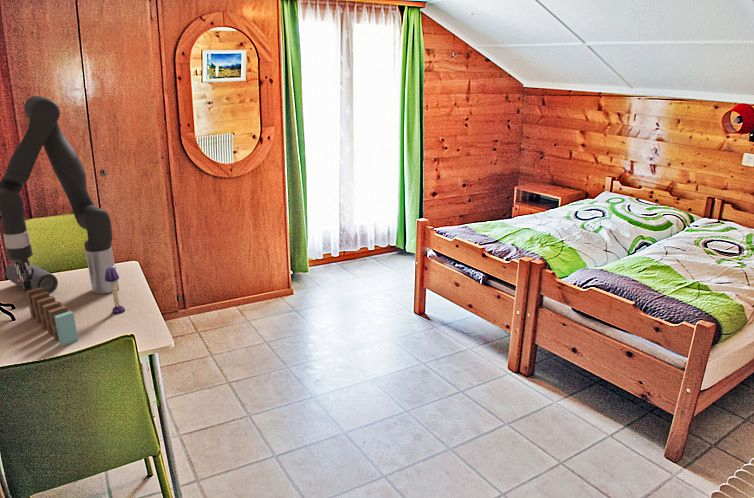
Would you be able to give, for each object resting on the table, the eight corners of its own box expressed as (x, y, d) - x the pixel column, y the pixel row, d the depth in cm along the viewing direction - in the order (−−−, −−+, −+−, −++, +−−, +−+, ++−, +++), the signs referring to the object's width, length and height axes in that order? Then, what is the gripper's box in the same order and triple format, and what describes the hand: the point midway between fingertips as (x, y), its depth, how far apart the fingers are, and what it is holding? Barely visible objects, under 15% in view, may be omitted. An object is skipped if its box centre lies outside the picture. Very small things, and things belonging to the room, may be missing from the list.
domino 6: (59, 344, 187) (54, 316, 184) (75, 338, 191) (70, 310, 188) (62, 346, 186) (56, 318, 183) (78, 340, 190) (73, 312, 186)
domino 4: (47, 332, 194) (42, 305, 191) (63, 327, 198) (58, 300, 195) (50, 334, 193) (44, 307, 190) (66, 329, 197) (60, 302, 193)
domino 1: (31, 317, 205) (26, 291, 201) (46, 312, 209) (41, 287, 205) (34, 319, 204) (28, 293, 200) (48, 314, 207) (43, 288, 204)
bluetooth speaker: (6, 287, 229) (1, 264, 225) (30, 280, 236) (25, 256, 233) (37, 301, 217) (31, 277, 213) (61, 293, 224) (56, 269, 221)
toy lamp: (117, 315, 207) (110, 271, 201) (107, 313, 208) (100, 269, 203) (127, 309, 211) (121, 267, 205) (117, 307, 213) (110, 265, 207)
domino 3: (42, 327, 198) (36, 300, 194) (57, 322, 202) (52, 296, 198) (44, 329, 197) (39, 302, 193) (60, 324, 200) (54, 297, 197)
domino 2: (36, 322, 201) (31, 296, 198) (52, 317, 205) (46, 291, 202) (39, 324, 200) (33, 297, 197) (54, 319, 204) (49, 293, 200)
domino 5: (53, 338, 191) (48, 310, 188) (69, 332, 195) (64, 305, 191) (56, 340, 190) (50, 312, 186) (72, 334, 193) (66, 307, 190)
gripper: (-2, 242, 203) (9, 288, 209) (13, 251, 195) (23, 298, 201) (22, 237, 208) (31, 281, 214) (37, 245, 200) (46, 291, 206)
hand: (27, 289), depth 208 cm, fingers closed
